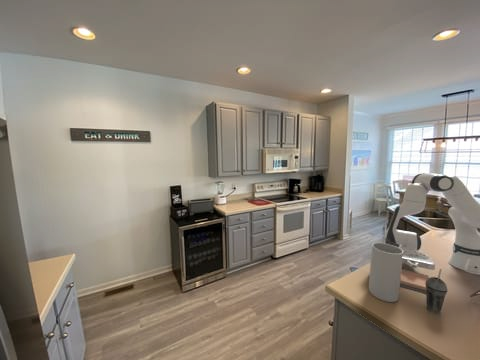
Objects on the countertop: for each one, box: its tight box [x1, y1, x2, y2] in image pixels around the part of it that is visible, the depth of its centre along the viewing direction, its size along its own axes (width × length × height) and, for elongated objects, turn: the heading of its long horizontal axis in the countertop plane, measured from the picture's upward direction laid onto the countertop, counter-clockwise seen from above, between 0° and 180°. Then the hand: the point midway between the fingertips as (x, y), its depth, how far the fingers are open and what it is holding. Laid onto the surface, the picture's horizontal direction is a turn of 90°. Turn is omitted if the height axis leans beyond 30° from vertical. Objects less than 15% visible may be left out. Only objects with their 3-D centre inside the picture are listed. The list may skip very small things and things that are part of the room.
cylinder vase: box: [368, 242, 403, 303], centre depth 100 cm, size 12×12×25 cm
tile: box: [400, 269, 430, 291], centre depth 112 cm, size 15×2×15 cm
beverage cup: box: [425, 268, 448, 315], centre depth 90 cm, size 7×7×20 cm
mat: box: [400, 284, 426, 295], centre depth 111 cm, size 18×16×1 cm
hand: (413, 266), depth 113 cm, fingers closed
